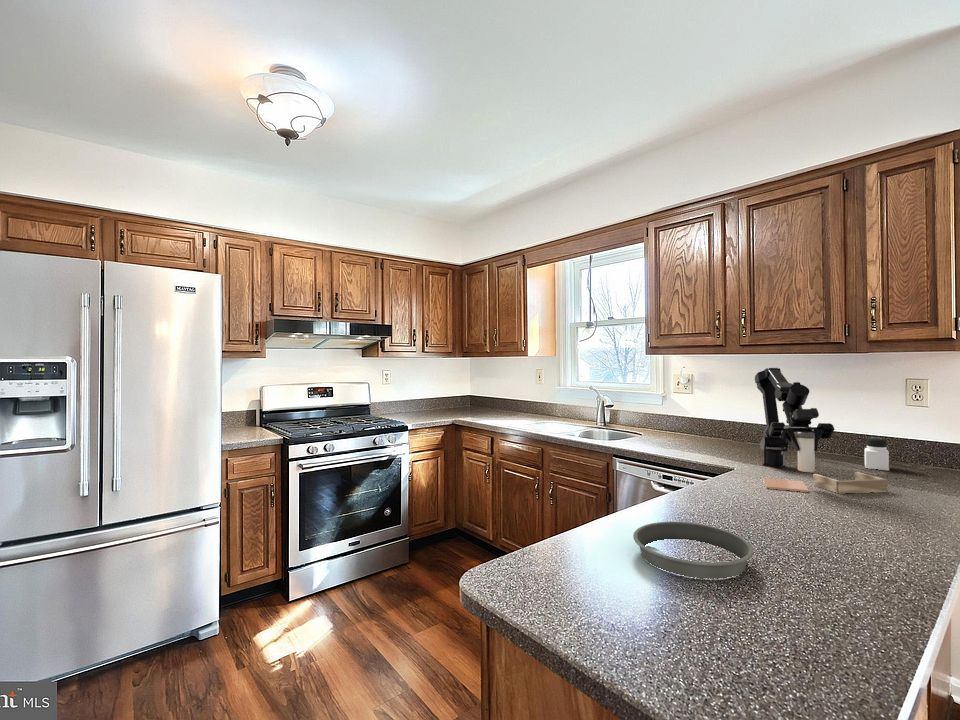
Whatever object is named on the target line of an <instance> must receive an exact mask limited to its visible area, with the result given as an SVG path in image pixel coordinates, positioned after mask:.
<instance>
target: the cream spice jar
mask: <svg viewBox="0 0 960 720" xmlns="http://www.w3.org/2000/svg"><path fill="white" fill-rule="evenodd" d="M814 438H815V433H813V432H805V431H799V432H797V433H796V440H797V442H798V445H799V449H800V450H799V451H797V450H796V451H797V471H799V472H804V473H815V471H816V470H815V469H816V463H815V462H816V461H815V459H816V457H815V449H814Z"/></svg>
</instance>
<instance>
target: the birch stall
mask: <svg viewBox="0 0 960 720" xmlns="http://www.w3.org/2000/svg"><path fill="white" fill-rule="evenodd" d="M812 485H815V486H814V487H816V486H817V488H819V487H821V488H820V489H822V488H824V489H823V490H825V489H827V490H826V491H828V490H830V491H829V492H831V491H833V492H832V493H834V492H836V493H835V494H838V493H839V494H838V495H846V494H845V493H855V494H868V493H869V494H871V493H870V492H874V493H887V492H889V490H888V488H889V487H888V479H887V478H882V477H879V476H875V475H871V474H867V473H863V472H859V471H854V479H853V480H852V479H850V480H838V479H835V478H832V477H828V476H824V475H821V474H818V473H813V474H812Z"/></svg>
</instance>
